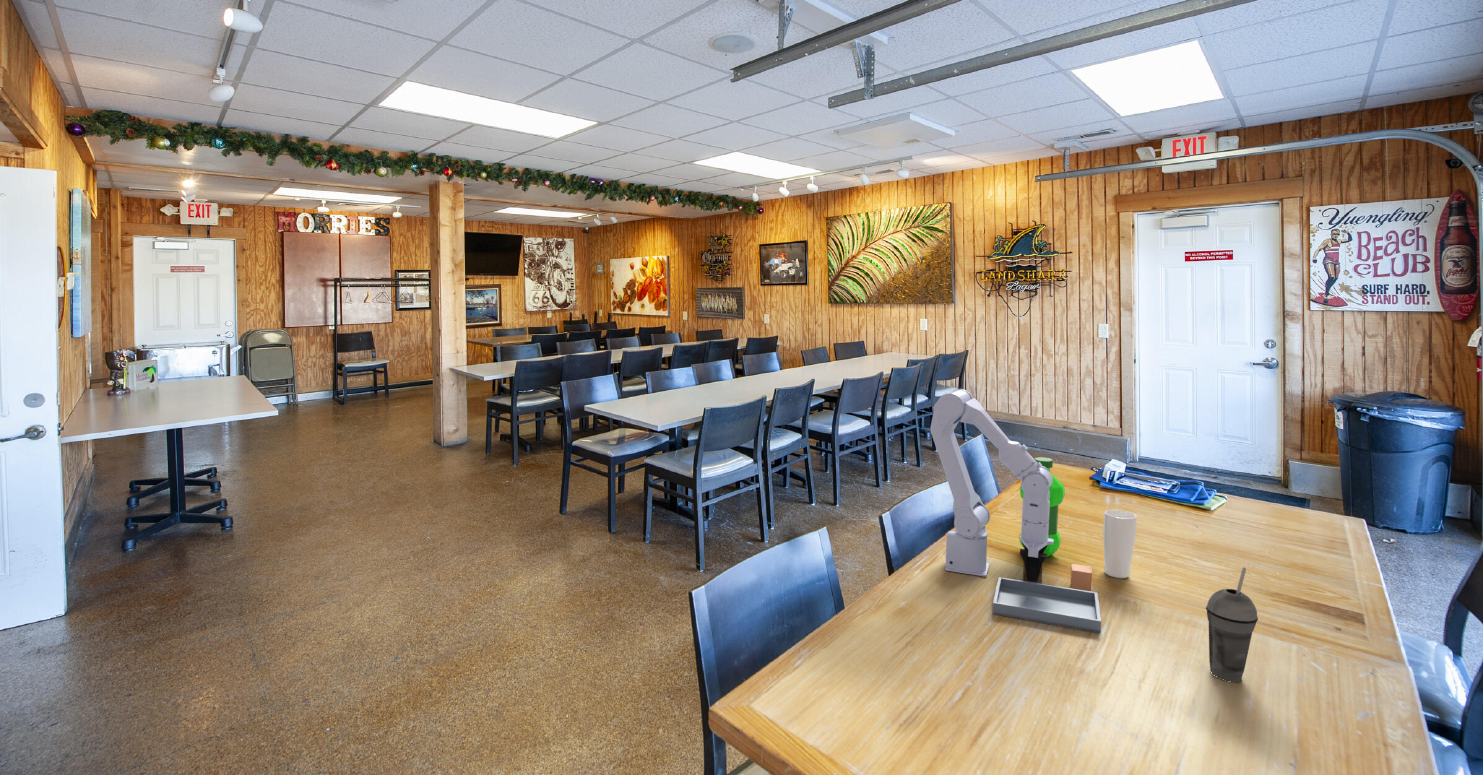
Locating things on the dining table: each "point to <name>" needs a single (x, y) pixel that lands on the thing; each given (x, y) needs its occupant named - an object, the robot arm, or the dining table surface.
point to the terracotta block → (1081, 577)
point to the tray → (1047, 604)
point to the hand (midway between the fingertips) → (1032, 575)
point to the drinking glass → (1118, 542)
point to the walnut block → (1033, 581)
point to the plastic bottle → (1051, 506)
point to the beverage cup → (1230, 631)
